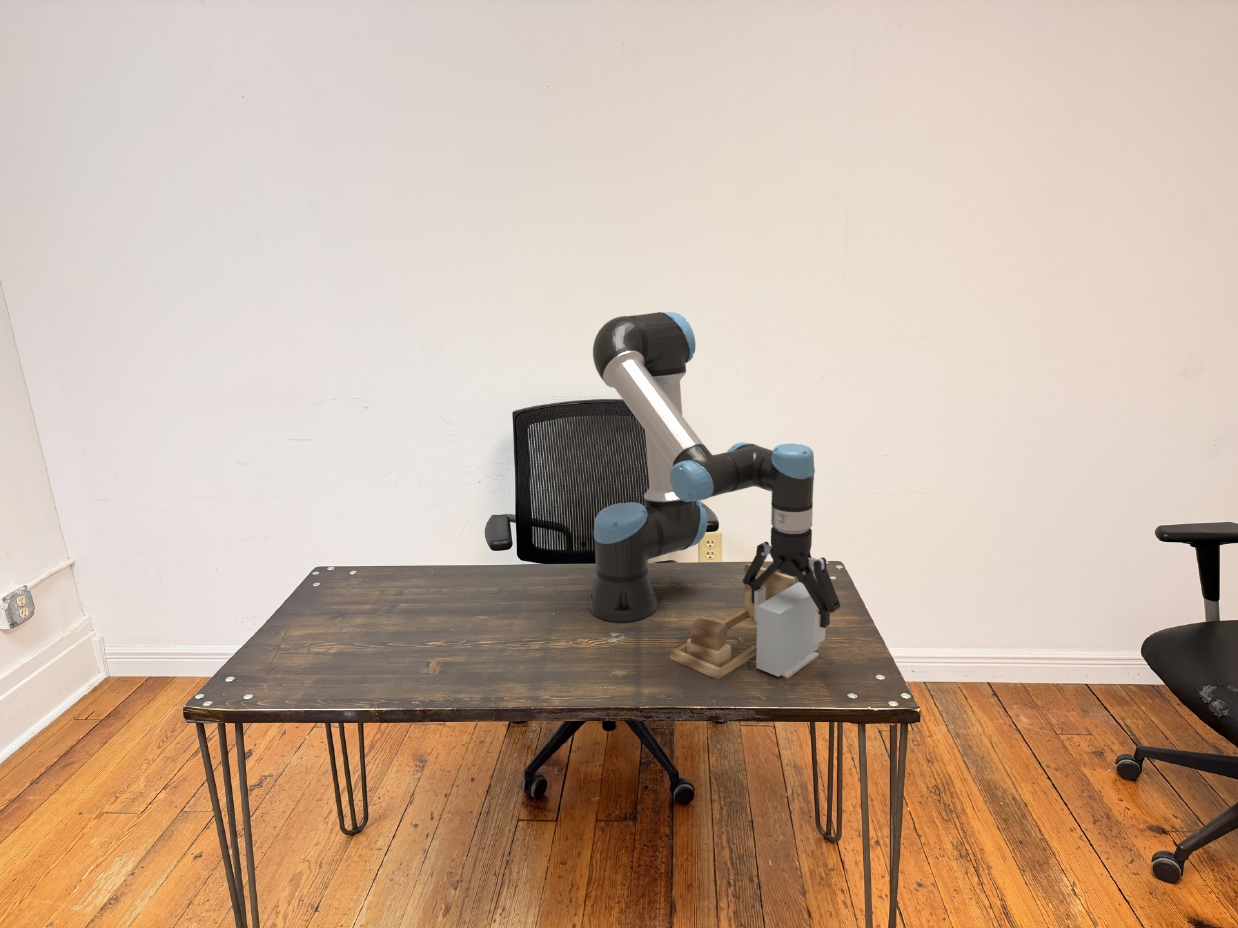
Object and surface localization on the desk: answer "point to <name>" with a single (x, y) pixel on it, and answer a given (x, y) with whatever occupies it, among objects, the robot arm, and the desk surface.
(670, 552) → the robot arm
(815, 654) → the mat
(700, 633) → the offcut upper
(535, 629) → the desk surface
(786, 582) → the rack
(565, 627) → the desk surface
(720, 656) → the offcut lower
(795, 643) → the grey rectangular block
